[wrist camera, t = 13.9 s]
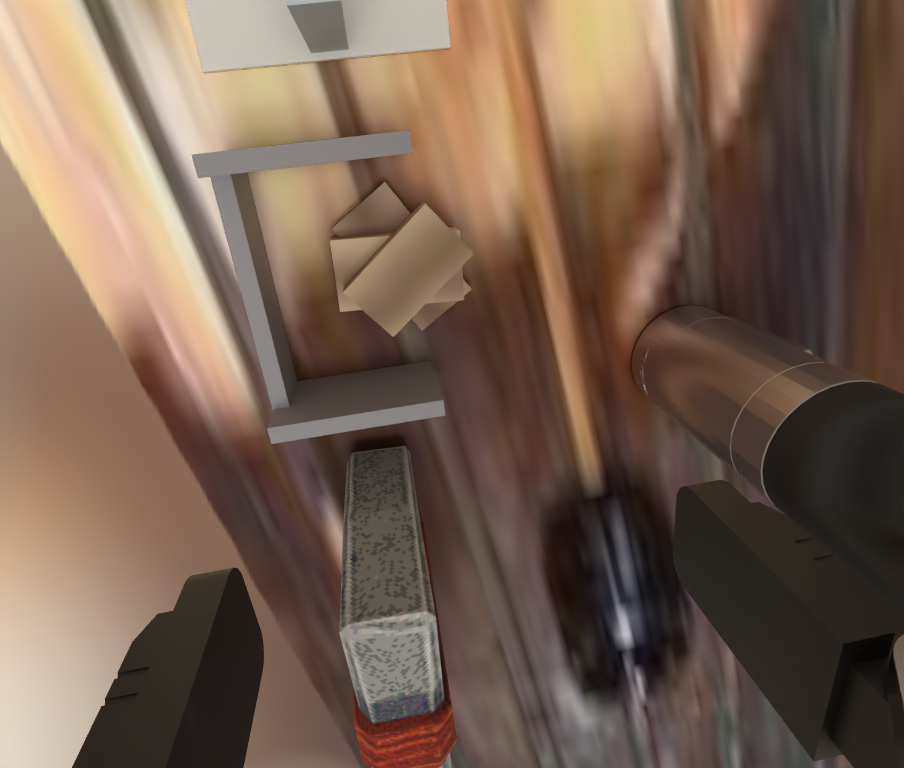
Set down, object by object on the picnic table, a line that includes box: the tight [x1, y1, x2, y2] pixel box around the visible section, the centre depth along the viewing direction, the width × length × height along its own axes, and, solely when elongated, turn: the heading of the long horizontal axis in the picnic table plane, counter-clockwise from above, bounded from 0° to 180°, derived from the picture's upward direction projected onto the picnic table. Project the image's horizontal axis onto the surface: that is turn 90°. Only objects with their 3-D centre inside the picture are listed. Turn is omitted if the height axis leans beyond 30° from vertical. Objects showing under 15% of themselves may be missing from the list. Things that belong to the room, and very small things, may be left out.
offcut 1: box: [332, 181, 472, 330], centre depth 41 cm, size 5×10×2 cm, turn 38°
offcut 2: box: [343, 201, 474, 337], centre depth 37 cm, size 5×8×2 cm, turn 134°
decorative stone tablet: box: [340, 446, 457, 768], centre depth 44 cm, size 19×6×30 cm
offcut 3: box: [330, 227, 464, 312], centre depth 39 cm, size 5×9×2 cm, turn 93°
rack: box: [192, 130, 445, 444], centre depth 37 cm, size 12×18×8 cm, turn 6°
